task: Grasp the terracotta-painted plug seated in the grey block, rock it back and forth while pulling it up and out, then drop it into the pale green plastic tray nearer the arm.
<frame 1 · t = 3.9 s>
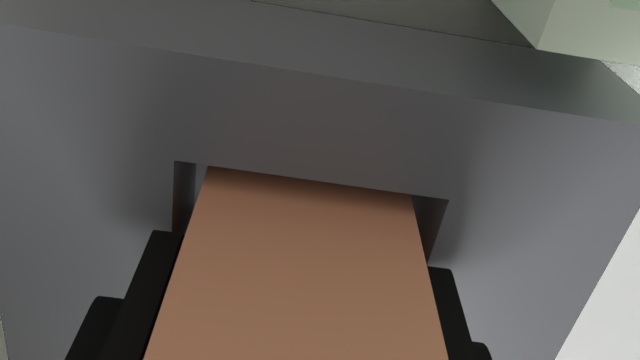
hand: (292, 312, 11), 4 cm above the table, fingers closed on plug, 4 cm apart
grey block: (300, 189, 15), on the table
plug: (299, 212, 14), point 1 cm above the table, touching gripper, grey block
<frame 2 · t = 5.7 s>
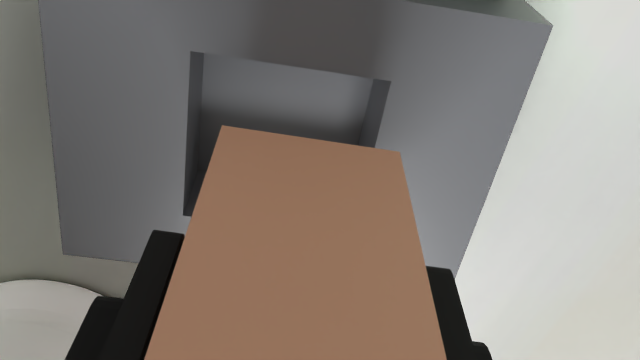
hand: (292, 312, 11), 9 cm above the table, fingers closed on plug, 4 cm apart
grey block: (284, 98, 18), on the table
plug: (299, 211, 14), point 6 cm above the table, touching gripper
jar: (61, 343, 25), on the table
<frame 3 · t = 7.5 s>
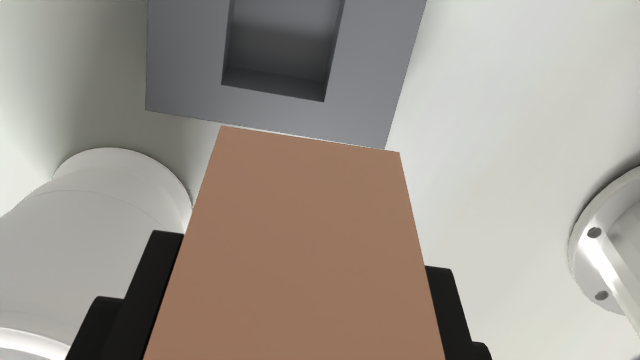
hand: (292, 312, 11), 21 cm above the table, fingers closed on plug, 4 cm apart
grey block: (284, 21, 29), on the table
plug: (298, 211, 14), point 18 cm above the table, touching gripper
jar: (124, 202, 35), on the table
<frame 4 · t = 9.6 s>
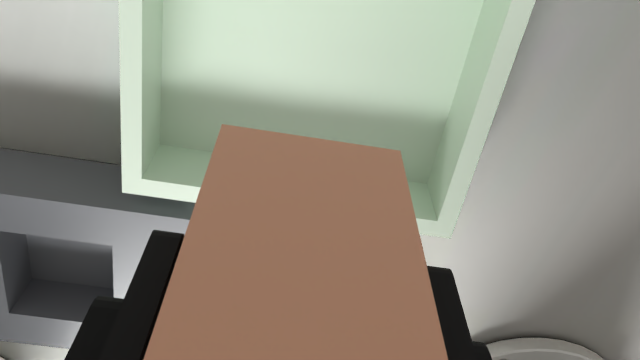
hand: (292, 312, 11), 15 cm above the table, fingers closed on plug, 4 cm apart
tray: (313, 51, 24), on the table
grey block: (85, 235, 29), on the table
plug: (299, 210, 14), point 12 cm above the table, touching gripper
when the fingers open (7 cm above the table, at t = 11.4 s): plug drops 3 cm, resting on tray.
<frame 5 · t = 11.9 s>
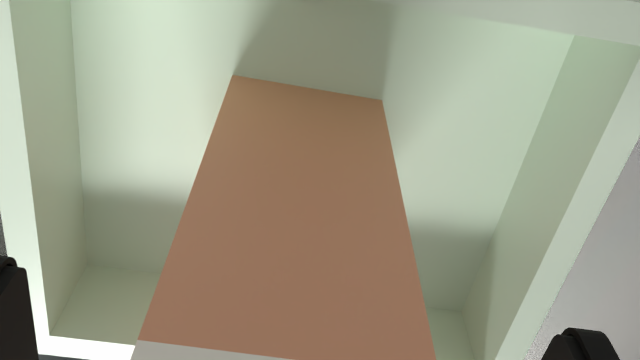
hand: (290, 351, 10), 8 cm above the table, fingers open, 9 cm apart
tray: (303, 142, 17), on the table
plug: (296, 152, 16), point 1 cm above the table, touching tray
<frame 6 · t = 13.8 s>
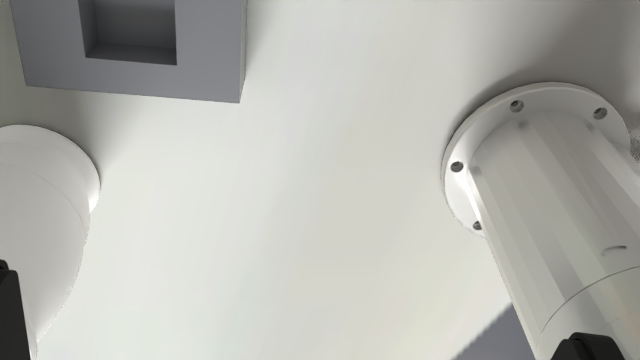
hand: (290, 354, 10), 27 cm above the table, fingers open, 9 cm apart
jar: (40, 173, 40), on the table
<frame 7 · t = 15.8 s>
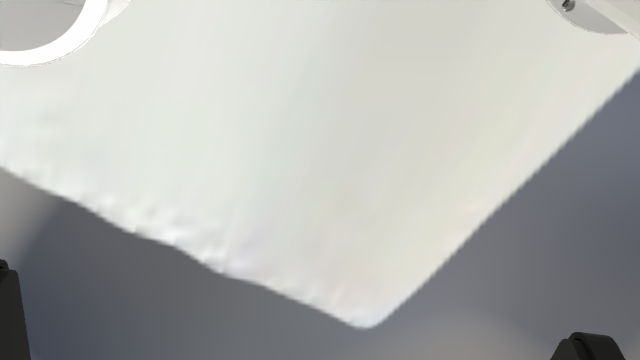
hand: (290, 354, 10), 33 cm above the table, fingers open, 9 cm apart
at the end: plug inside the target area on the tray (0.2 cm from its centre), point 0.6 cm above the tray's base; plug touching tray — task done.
